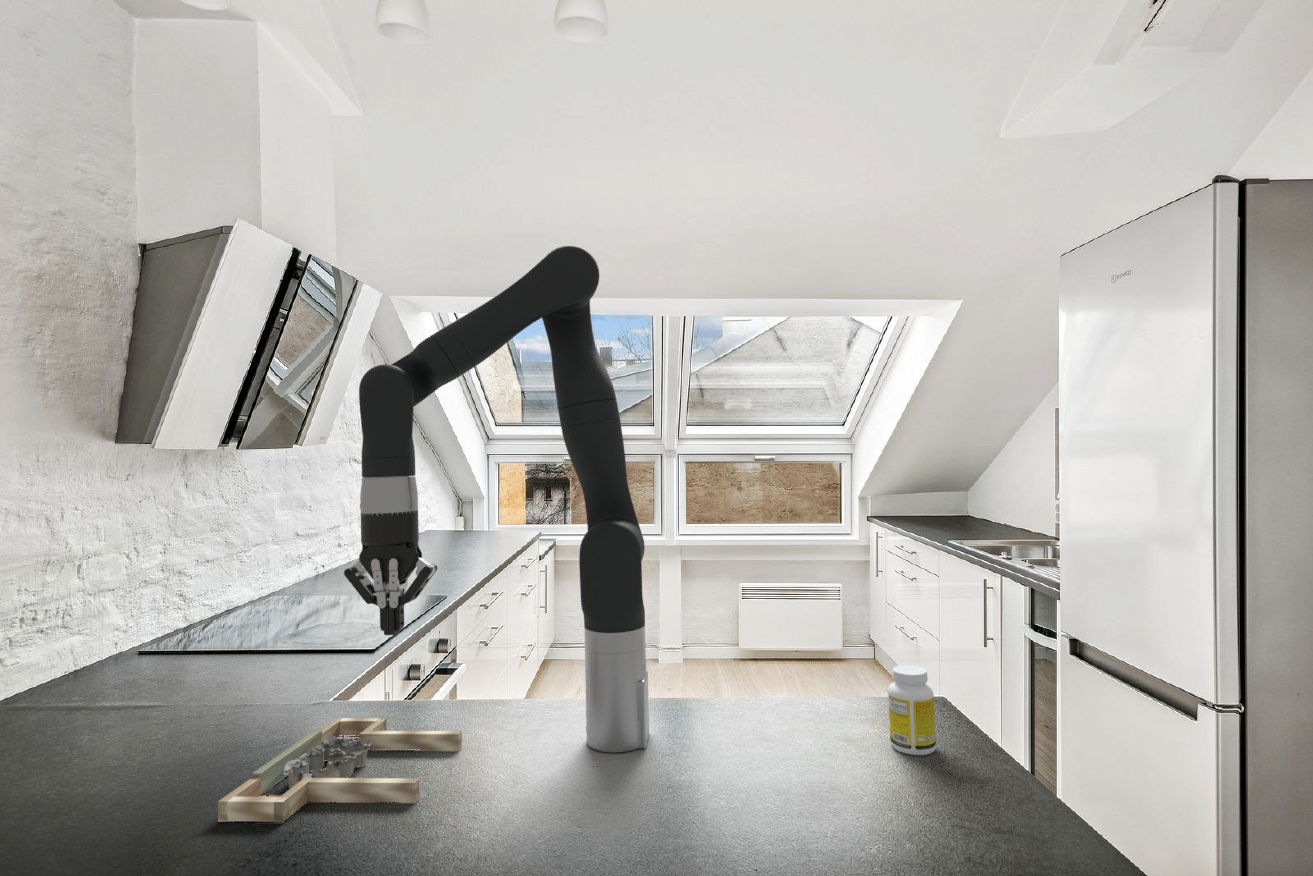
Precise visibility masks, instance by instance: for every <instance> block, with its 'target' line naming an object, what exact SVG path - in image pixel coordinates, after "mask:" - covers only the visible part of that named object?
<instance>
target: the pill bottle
mask: <svg viewBox="0 0 1313 876" xmlns="http://www.w3.org/2000/svg"><path fill="white" fill-rule="evenodd" d="M892 679H893V680H894V681H893V682H892V683H891V684H890V685H889V686H888V691H887V692H888V693H887V696H888V697H887V698H888V714H889V715H888V717H889V738H890V739H889V740H890V745H891V746H892V748H893V749H895V751H898V752H900V753H902V754H906V755H911V756H927V755H929V754H932V753H934V752H935V751H936V749H937V737H936V736H937V735H936V733H937V732H936V717H935V713H936V712H935V697H934V691H933V689H932V687H930V686H929V685H928V684H927V683H928V680H929V679H928V671H927V670H926V668H923V667H921V666H916V665H897V666H894V667H893V668H892Z"/></svg>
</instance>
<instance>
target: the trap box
mask: <svg viewBox="0 0 1313 876" xmlns="http://www.w3.org/2000/svg"><path fill="white" fill-rule="evenodd" d="M330 735H331V736H334V737H340V736H339V735H343V736H341V737H344V735H356V736H349V737H359V739H360V740H361V742H362V743H363V744H368V742H371V743H372V744H371V745H370V750H373V749H374V750H376V749H377V750H378V749H381V750H382V749H394V748H395V749H416V750H417V749H420V750H429V751H428V752H460V751H461V750H462V748H463V739H462V737H463V736H462V735H463V734H462V730H387V717H385V718H384V717H380V718H379V717H374V718H373V717H368V718H367V717H366V718H365V717H364V718H363V717H362V718H361V717H356V718H355V717H352V718H351V717H348V718H347V717H346V718H345V717H340V718H339V717H336V718H335V719H332V720H331V721H330V722H329V723H327V724H326V725H324V726H323V727H322V728H320V729H318V730H315V729H314V730H312V731H311V732H310V733H308V734H307V735H305V736H304V737H302V738H300V740H298V741H297V742H296V743H294V744H292V745H290V747H288V748H287V749H285V750H283V752H281V753H279V754H278V755H276V756H275V757H274V758H272V759H271V760H269V761H268V762H267V763H265V764H263V765H262V766H260V767H259V768H258V769H256V770H254V771H253V772H252V773H251V777H250V778H249V779H248V780H246V781H244V782H243V783H242V784H241V785H238V787H236V788H235V789H234V790H232V791H231V792H229V793H228V794H227V795H225V796H224V797H222V798H220V799H219V800H218V801H217V823H218V822H227V821H228V822H229V821H230V822H231V821H233V822H234V821H245V822H246V821H257V822H258V821H259V822H261V821H262V822H278V823H277V824H284V823H285V822H284V821H285V820H286V819H288V818H289V817H290V816H291V815H293V814H294V813H295V812H296V811H297V810H298V811H299V810H301V809H302V808H303V807H304V806H305V805H306V804H308V803H330V802H332V804H333V803H334V802H336V804H337V803H338V804H339V803H342V804H343V803H345V804H348V803H349V804H350V803H351V804H353V803H354V804H355V803H356V804H357V803H359V804H393V803H392V802H397V803H396V804H416V803H418V801H419V800H420V778H403V777H402V778H396V777H394V778H392V777H391V778H389V777H388V778H387V777H386V778H385V777H383V778H382V777H376V778H374V777H373V778H372V777H370V778H369V777H364V778H363V777H350V778H303V779H302V780H301V781H299V782H298V783H297V784H296V785H294V786H293V787H292V788H289V789H288V790H286V791H285V792H284V793H283V794H268V795H269V796H266V795H267V794H265V795H263V796H260V795H261V794H262V793H263V792H265V791H266V790H268V789H269V788H270V787H272V786H273V785H274V784H275V783H277V782H278V781H280V780H281V779H282V778H284V777H285V776H287V775H288V774H289V773H288V774H286V775H285V774H283V772H284V768H285V765H286V763H287V762H289V761H292V760H295V759H298V758H299V757H300V756H301V755H303V754H305V753H306V752H307V751H308V750H309V749H310V748H313V749H314V748H315V747H316V746H318V745H320V744H321V743H322V742H323V741H324V740H325V739H326V738H327V737H328V736H330ZM358 735H359V736H358ZM347 737H348V736H347ZM351 739H352V738H351ZM354 740H358V738H356V739H355V738H354ZM308 801H310V802H308ZM307 802H308V803H307ZM377 802H378V803H377ZM380 802H382V803H380ZM383 802H384V803H383ZM385 802H387V803H385ZM389 802H391V803H389ZM398 802H399V803H398ZM304 804H305V805H304ZM303 805H304V806H303ZM302 806H303V807H302ZM301 807H302V808H301ZM300 808H301V809H300ZM298 811H297V812H298ZM297 812H296V813H297ZM296 813H295V814H296ZM295 814H294V815H295ZM294 815H293V816H294ZM291 817H292V816H291ZM291 817H290V818H291ZM290 818H289V819H290ZM289 819H288V820H289ZM279 822H281V823H279Z"/></svg>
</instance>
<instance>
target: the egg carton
mask: <svg viewBox="0 0 1313 876" xmlns="http://www.w3.org/2000/svg"><path fill="white" fill-rule="evenodd" d="M371 744H372V743H371V742H368V744H363V743H362V742H361V740H360V739H358V740H353V739H347V738H344V737H343V738H342V739H339V738H337V737H334V736H331V735H330V736H328V737H327V738H326V739H325V740H324V741H323V742H322V743H321V744H320V745H318V746H316V747H315V748H314V749H313V748H310V749H309V750H308V751H307V752H306V753H305V754H303V755H301V756H300V757H299V758H298V759H295V760H292V761H289V762H287V763H286V765H285V768H284V772H283V774H285V775H286V774H288V773H289V776H288V785H291V788H292V787H293V786H294V785H296V784H297V783H298V782H299V781H301V780H302V779H303V778H346V777H350V778H352V776H353V775H354V770H355V769H356V768H355V767H357V766H362V765H366V764H367V765H368V761H367V755H368V751H367V750H370V745H371ZM324 760H328V762H326V767H325V762H324ZM367 765H366V766H367ZM323 767H324V768H323ZM322 768H323V769H322ZM354 768H355V769H354ZM311 770H314V771H313V772H311V773H309V771H311ZM352 774H353V775H352ZM351 775H352V776H351ZM288 785H287V786H288ZM291 788H290V789H291Z"/></svg>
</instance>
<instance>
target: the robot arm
mask: <svg viewBox="0 0 1313 876" xmlns="http://www.w3.org/2000/svg"><path fill="white" fill-rule="evenodd" d="M599 283H600V268H599V266H598V263H597V261H596V259H595V258H594V256H593V255H592V254H591V253H590V252H589V251H587V250H586V249H584V248H582V247H580V246H575V245H563V246H558V247H557V248H555V249H552V250H551V251H550V252H548V254H546V255H545V256H544V257H543V258H542V259H541V260H540V261H539V262H538V263H537V264H536V265H535V266H534V267H532V268H531V269H530V270H529V271H528V272H527V273H525V274H524V275H523V276H522V277H520V278H519V279H518V280H517V281H515V282H513V283H512V284H511V285H509V286H508V287H507V288H506V289H504V290H503V291H502V292H500V293H499V294H497V295H496V296H494V297H492V298H491V299H490V300H487V301H486V302H484V303H483V304H481V305H480V306H479V307H476V308H475V309H472V310H471V311H469V312H468V313H466V314H465V315H463V316H462V317H460V318H457V319H456V320H454V321H453V322H451V323H449V324H448V325H446V326H445V327H442V328H441V329H439V330H438V331H437V332H435V333H432V334H431V335H429V336H428V337H426V338H425V339H423V340H422V341H421V342H419V343H418V344H417V345H416V347H414V348H413V350H412V351H411V352H410V353H407V354H406V355H405V356H403V357H402V358H400V359H398V360H396V361H394V362H393V363H391V364H379V365H378V364H377V365H376V366H373V367H371V368H370V369H369V370H367V371H366V372H365V373H364V374H363V376H362V378H361V380H360V382H359V386H358V387H359V388H358V400H359V401H358V402H359V414H360V424H361V433H362V444H361V445H362V447H361V477H362V478H361V487H360V494H359V495H360V496H359V497H360V499H359V509H360V543H361V545H362V546H361V547H362V548H361V551H360V553H359V555H358V559H359V560H358V561H357V562H356V563H355V564H353V565H352V566H350V567H349V568H346V569H345V570H344V571H343V575H344V576H345V578H346V579H347V581H348V582H349V583H350V584H351V586H352V587H353V588H354V590H355V591H356V592H357V593H358V594H359V596H360V597H361V599H363V601H364V602H365V603H366V604H367V605H375V606H377V607H378V608H379V627H380V631H382V632H383V635H384V636H396V635H398V634H399V633H401V631H402V630H403V629H404V627H405V605H406V604H409V603H411V602H412V601H414V600H416V599H417V598H418V597H419V596H420V595H421V593H422V591H423V590H424V589H425V587H426V586H427V585H428V583H429V582H430V580H431V579H432V578H433V576H434V575H435V573H436V572H437V571H438V566H437V564H436V563H429V562H428V561H427V560H426V559H424V558H423V553H422V550H421V548H420V547H419V546H420V545H419V541H420V537H419V535H420V531H419V530H420V529H419V496H418V495H419V492H418V486H417V479H416V478H417V477H416V451H415V449H416V448H415V443H414V439H413V430H414V428H413V427H414V407H416V406H417V405H418V404H420V403H421V402H423V401H424V400H425V399H427V398H428V397H429V396H431V395H433V393H435V392H436V391H437V390H438V389H440V388H441V387H443V386H445V385H447V384H449V383H451V382H452V381H454V380H456V379H458V378H460V377H461V376H463V375H464V374H466V373H467V372H469V371H471V370H473V369H474V368H476V367H477V366H478V365H480V364H481V363H483V362H484V361H486V360H487V359H488V358H490V357H491V356H492V355H493V354H495V353H496V352H497V351H498V350H500V349H501V348H502V347H504V346H505V345H506V344H507V343H508V342H510V341H511V340H512V339H514V337H515V336H517V335H518V334H519V333H521V332H522V331H524V330H525V329H527V328H529V326H531V325H532V324H534V323H535V322H537V321H538V320H540V319H542V322H543V325H544V329H545V333H546V336H547V340H548V344H549V349H550V356H551V366H552V374H553V376H552V377H553V385H554V391H555V392H554V393H555V397H556V404H557V405H556V406H557V410H558V417H559V422H560V428H561V434H562V436H563V437H562V438H563V441H564V444H565V445H564V446H565V448H566V451H567V454H568V457H569V460H570V461H571V464H572V466H573V469H574V471H575V474H576V476H577V478H578V482H579V484H580V487H581V490H582V494H583V499H584V506H585V507H584V508H585V515H586V523H587V525H586V526H587V531H586V533H584V534H585V535H584V536H583V538H582V540H581V542H580V543H581V544H580V547H579V557H578V558H579V559H578V560H579V561H578V563H579V589H580V591H579V592H580V605H581V610H582V615H583V627H584V633H583V634H584V673H585V675H584V678H585V679H584V680H585V719H586V726H585V730H586V743H587V744H586V745H587V746H589V747H590V748H591V749H593V750H595V751H598V752H602V753H603V752H604V753H625V752H629V751H630V752H631V751H633V750H638V749H646V748H647V745H648V739H649V735H650V710H649V709H650V708H649V707H650V705H649V703H650V702H649V672H648V670H647V662H646V661H647V656H646V655H647V653H646V649H647V647H646V646H647V645H646V611H645V605H644V597H643V570H642V569H643V568H642V567H643V565H642V564H643V563H642V561H643V559H644V556H645V540H644V536H643V533H642V529H641V527H640V523H639V520H638V517H637V514H636V511H635V507H634V503H633V500H632V496H631V492H630V488H629V483H628V476H627V464H626V462H627V461H626V453H625V443H624V435H623V429H622V422H621V417H620V410H619V405H618V401H617V396H616V391H615V388H614V385H613V382H612V380H611V377H610V375H609V372H608V370H607V368H606V366H605V364H604V362H603V360H602V357H601V355H600V353H599V351H598V348H597V345H596V341H595V337H594V331H593V326H592V325H593V324H592V316H591V300H592V298H593V297H594V295H595V293H596V291H597V289H598V287H599ZM415 569H416V570H415ZM414 571H415V575H416V578H415V579H414V580H413V581H412V583H411V584H410V586H409V587H408V584H409V578H410V576H411V575H412V574H413V572H414ZM367 574H368V575H369V576H370V577H371V579H372V580H371V579H370V578H369V577H368V576H367ZM372 581H373V582H372Z"/></svg>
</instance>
